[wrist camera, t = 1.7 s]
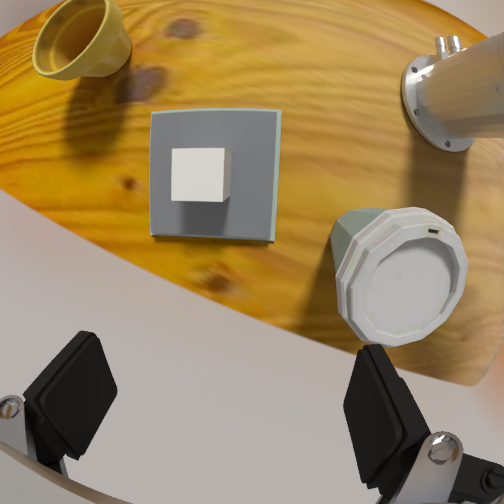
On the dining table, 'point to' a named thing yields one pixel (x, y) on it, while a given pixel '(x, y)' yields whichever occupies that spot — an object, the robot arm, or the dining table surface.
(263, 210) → the lid
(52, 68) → the plant pot
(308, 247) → the dining table surface
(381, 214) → the disposable coffee cup
